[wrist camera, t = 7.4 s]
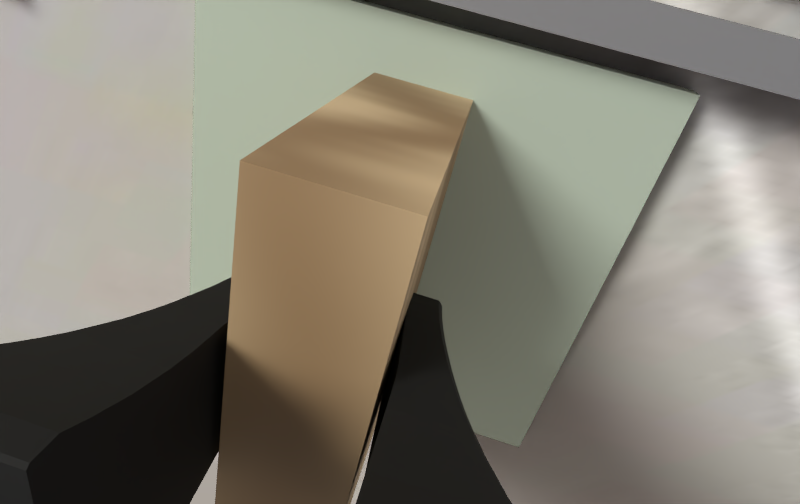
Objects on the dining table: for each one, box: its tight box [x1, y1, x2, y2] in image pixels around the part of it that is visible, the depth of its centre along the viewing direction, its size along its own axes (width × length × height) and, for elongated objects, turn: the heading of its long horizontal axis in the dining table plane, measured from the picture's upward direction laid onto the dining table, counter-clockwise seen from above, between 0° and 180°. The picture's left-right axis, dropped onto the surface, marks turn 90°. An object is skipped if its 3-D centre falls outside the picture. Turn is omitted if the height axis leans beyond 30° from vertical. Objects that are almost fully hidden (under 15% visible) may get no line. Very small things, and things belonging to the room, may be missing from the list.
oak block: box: [215, 72, 473, 504], centre depth 12 cm, size 2×9×7 cm, turn 167°
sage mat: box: [190, 0, 700, 447], centre depth 15 cm, size 12×12×1 cm
